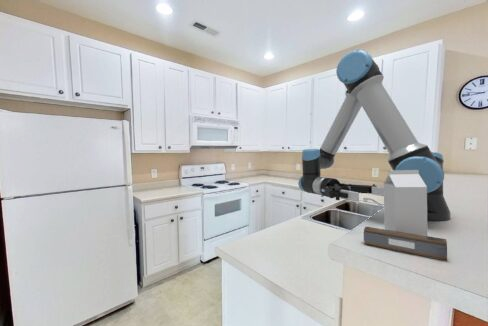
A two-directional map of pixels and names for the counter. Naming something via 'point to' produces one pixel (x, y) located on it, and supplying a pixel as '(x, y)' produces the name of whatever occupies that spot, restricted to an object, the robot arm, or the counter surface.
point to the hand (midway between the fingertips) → (375, 195)
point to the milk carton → (405, 202)
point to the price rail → (407, 242)
